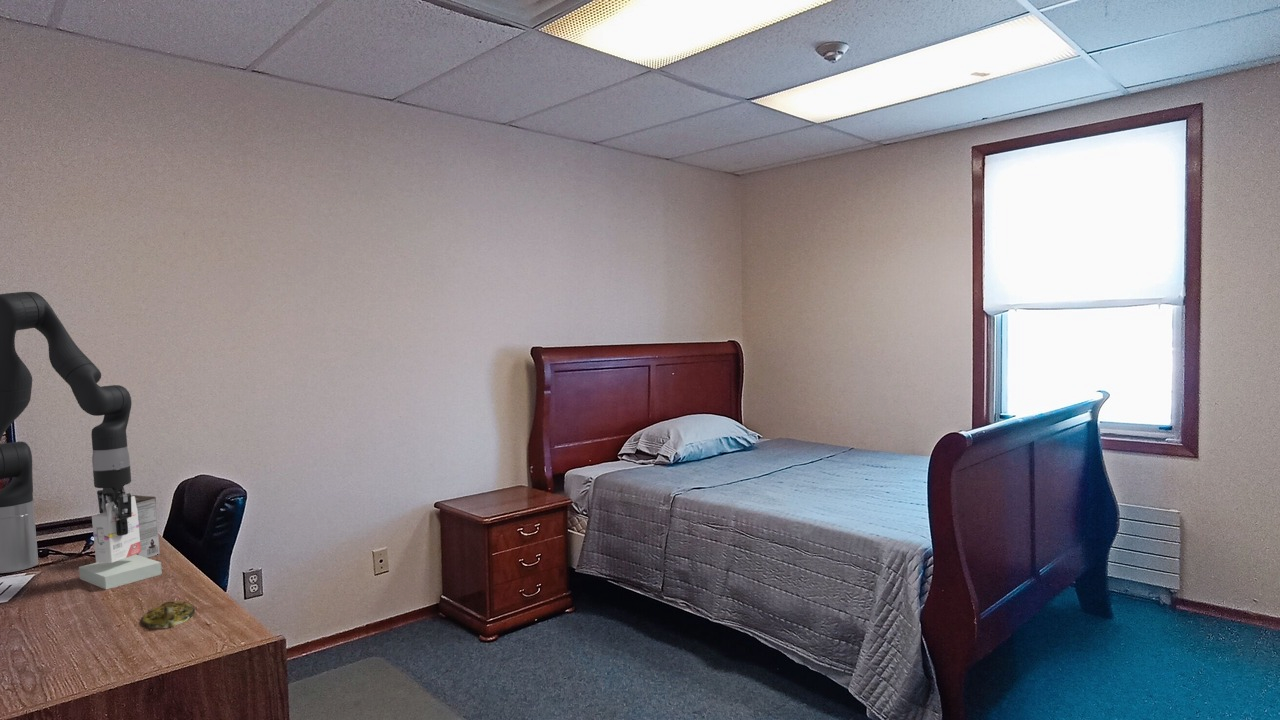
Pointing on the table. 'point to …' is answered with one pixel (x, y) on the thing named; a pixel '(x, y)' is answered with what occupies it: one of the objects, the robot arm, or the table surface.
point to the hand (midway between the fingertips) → (116, 533)
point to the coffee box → (147, 525)
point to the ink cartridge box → (115, 535)
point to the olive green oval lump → (168, 615)
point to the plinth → (120, 571)
